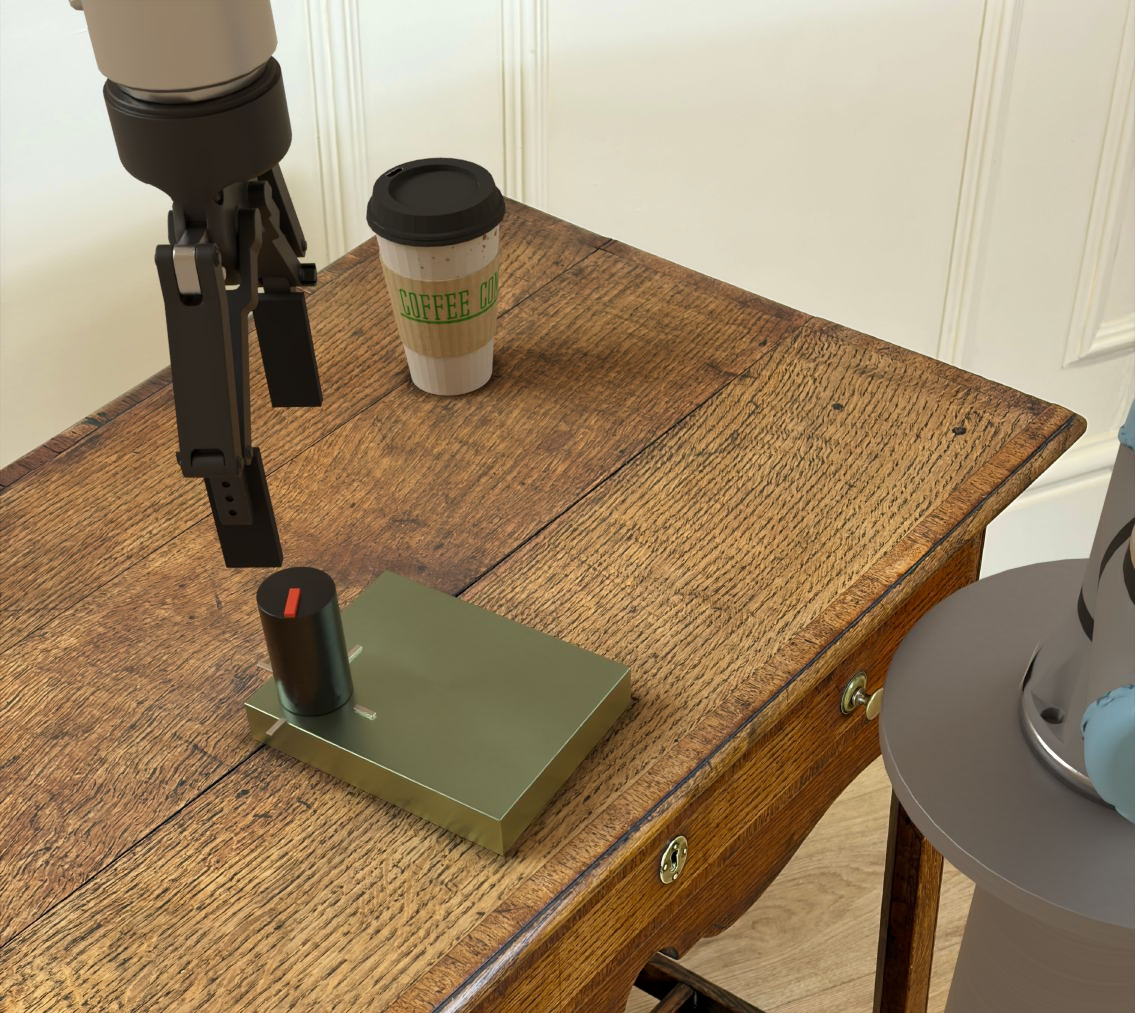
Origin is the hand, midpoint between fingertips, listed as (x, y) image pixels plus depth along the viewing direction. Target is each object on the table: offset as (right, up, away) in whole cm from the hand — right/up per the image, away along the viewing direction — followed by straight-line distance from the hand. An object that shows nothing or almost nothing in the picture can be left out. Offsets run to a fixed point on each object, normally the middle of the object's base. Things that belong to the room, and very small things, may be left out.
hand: (277, 479), depth 82 cm
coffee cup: (+6, +15, +39) cm, 42 cm away
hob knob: (0, -10, +11) cm, 15 cm away
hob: (+7, -12, +13) cm, 19 cm away
